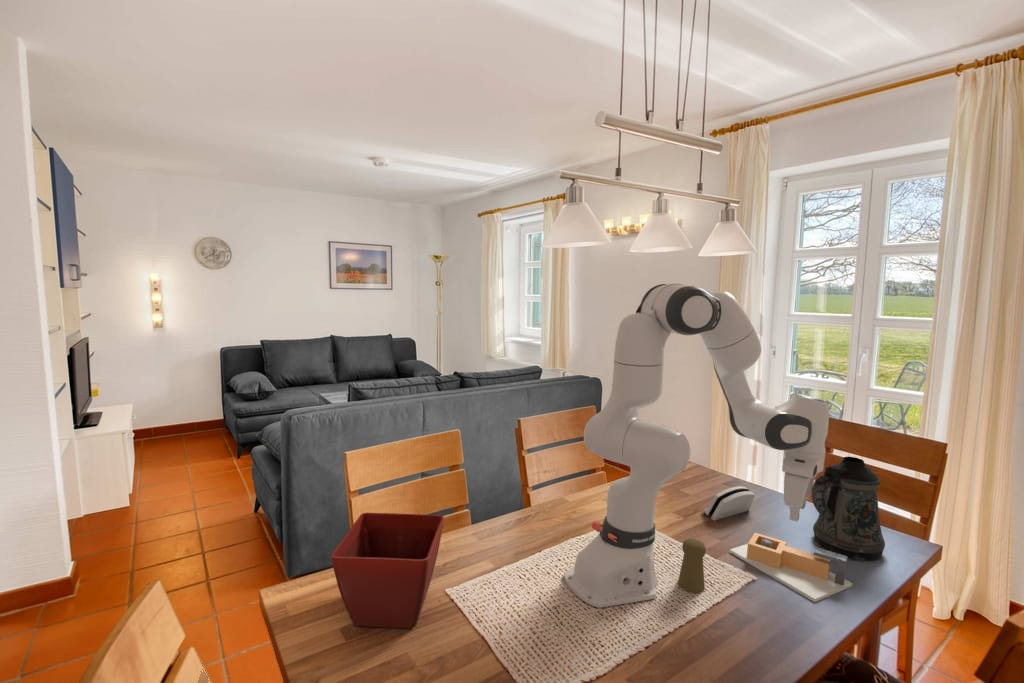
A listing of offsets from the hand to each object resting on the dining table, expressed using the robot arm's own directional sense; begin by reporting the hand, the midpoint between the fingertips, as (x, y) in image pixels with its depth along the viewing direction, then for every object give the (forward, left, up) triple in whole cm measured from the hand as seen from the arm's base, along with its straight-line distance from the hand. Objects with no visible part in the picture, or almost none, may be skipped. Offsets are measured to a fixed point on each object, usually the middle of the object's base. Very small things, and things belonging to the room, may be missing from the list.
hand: (797, 513), depth 123 cm
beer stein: (+24, +1, -15) cm, 29 cm away
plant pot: (-95, +27, -15) cm, 100 cm away
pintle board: (0, +1, -15) cm, 15 cm away
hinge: (+11, +28, -15) cm, 34 cm away
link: (0, +1, -14) cm, 14 cm away
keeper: (+4, -7, -15) cm, 17 cm away
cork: (-29, +6, -15) cm, 33 cm away
